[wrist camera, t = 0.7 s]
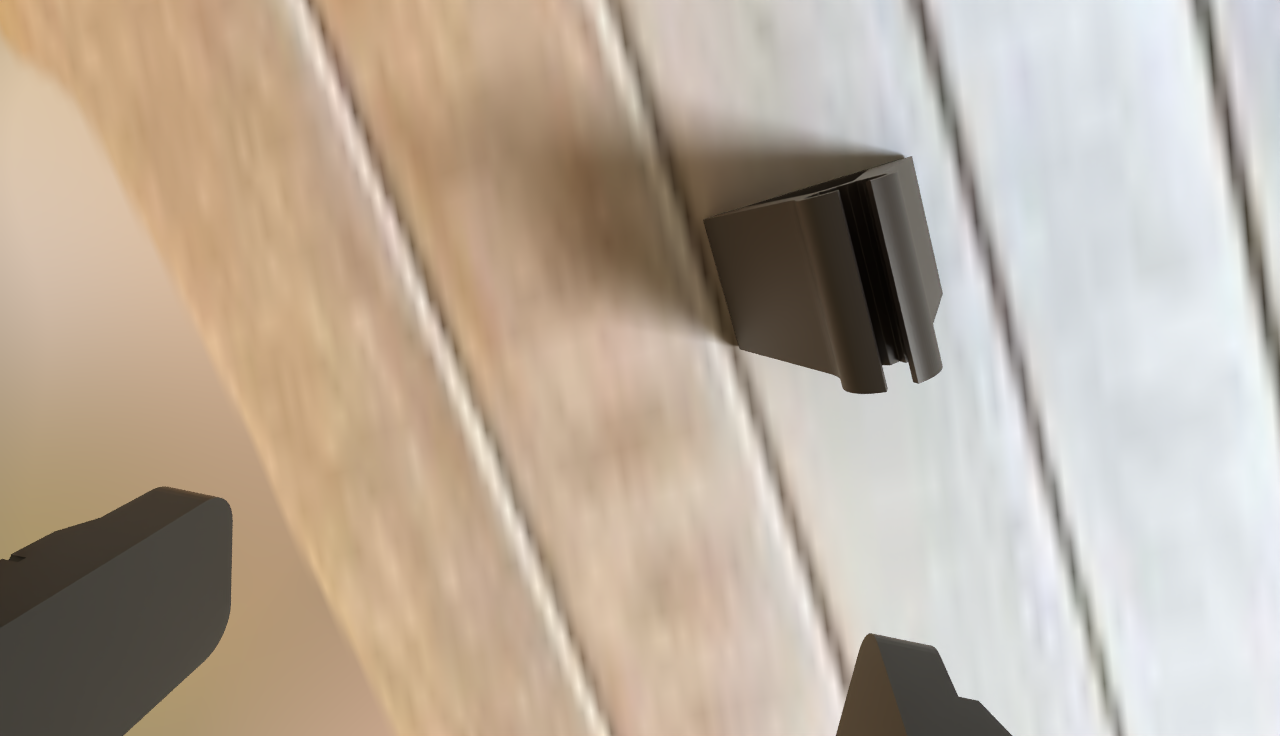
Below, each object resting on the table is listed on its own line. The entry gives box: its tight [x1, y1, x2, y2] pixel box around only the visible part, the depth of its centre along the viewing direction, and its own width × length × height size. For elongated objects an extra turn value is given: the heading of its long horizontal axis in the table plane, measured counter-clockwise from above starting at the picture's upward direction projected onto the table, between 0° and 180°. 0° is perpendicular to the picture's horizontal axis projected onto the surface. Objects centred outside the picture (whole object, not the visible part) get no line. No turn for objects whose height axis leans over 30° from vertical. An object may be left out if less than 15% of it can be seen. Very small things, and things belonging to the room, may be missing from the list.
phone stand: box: [703, 156, 943, 394], centre depth 27 cm, size 9×6×12 cm, turn 107°
